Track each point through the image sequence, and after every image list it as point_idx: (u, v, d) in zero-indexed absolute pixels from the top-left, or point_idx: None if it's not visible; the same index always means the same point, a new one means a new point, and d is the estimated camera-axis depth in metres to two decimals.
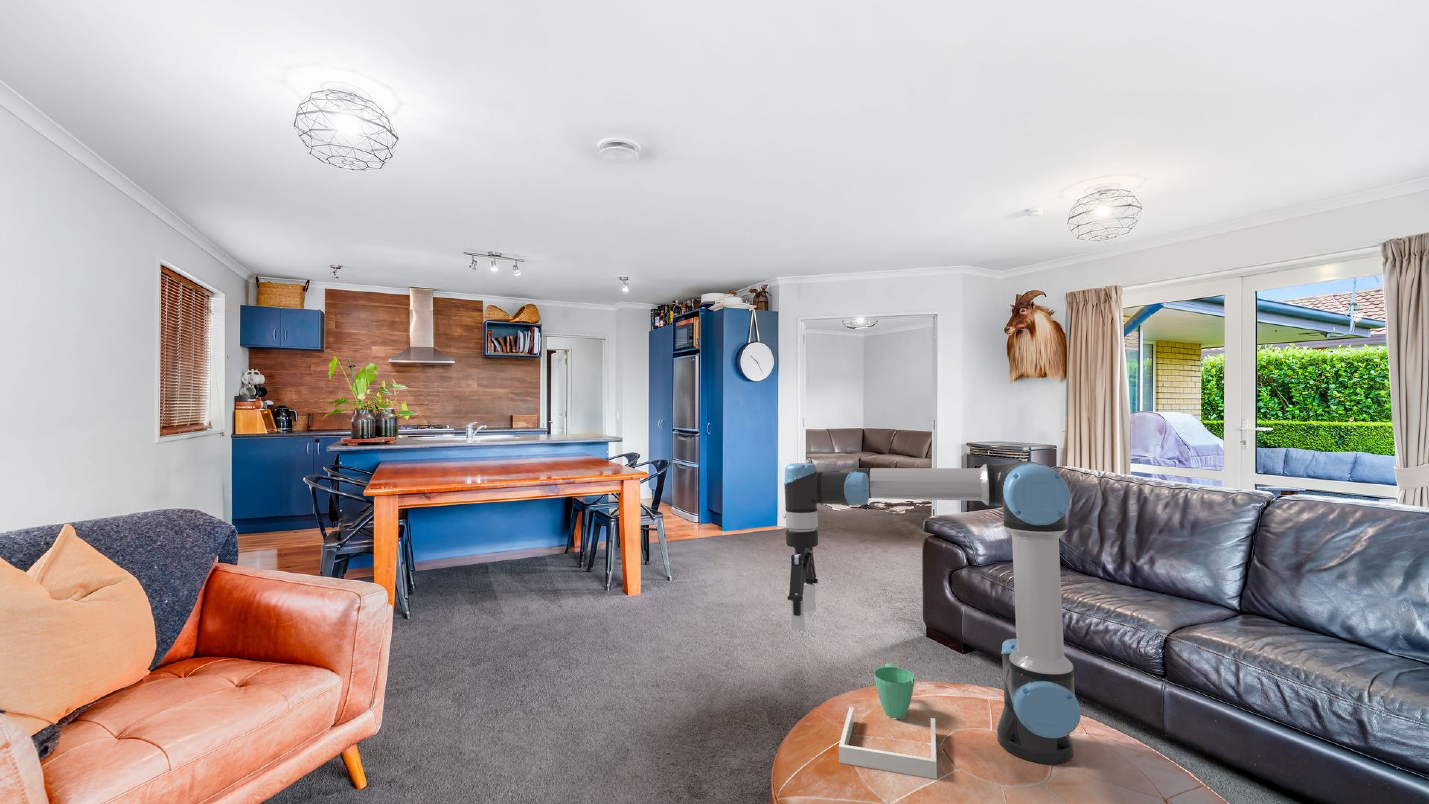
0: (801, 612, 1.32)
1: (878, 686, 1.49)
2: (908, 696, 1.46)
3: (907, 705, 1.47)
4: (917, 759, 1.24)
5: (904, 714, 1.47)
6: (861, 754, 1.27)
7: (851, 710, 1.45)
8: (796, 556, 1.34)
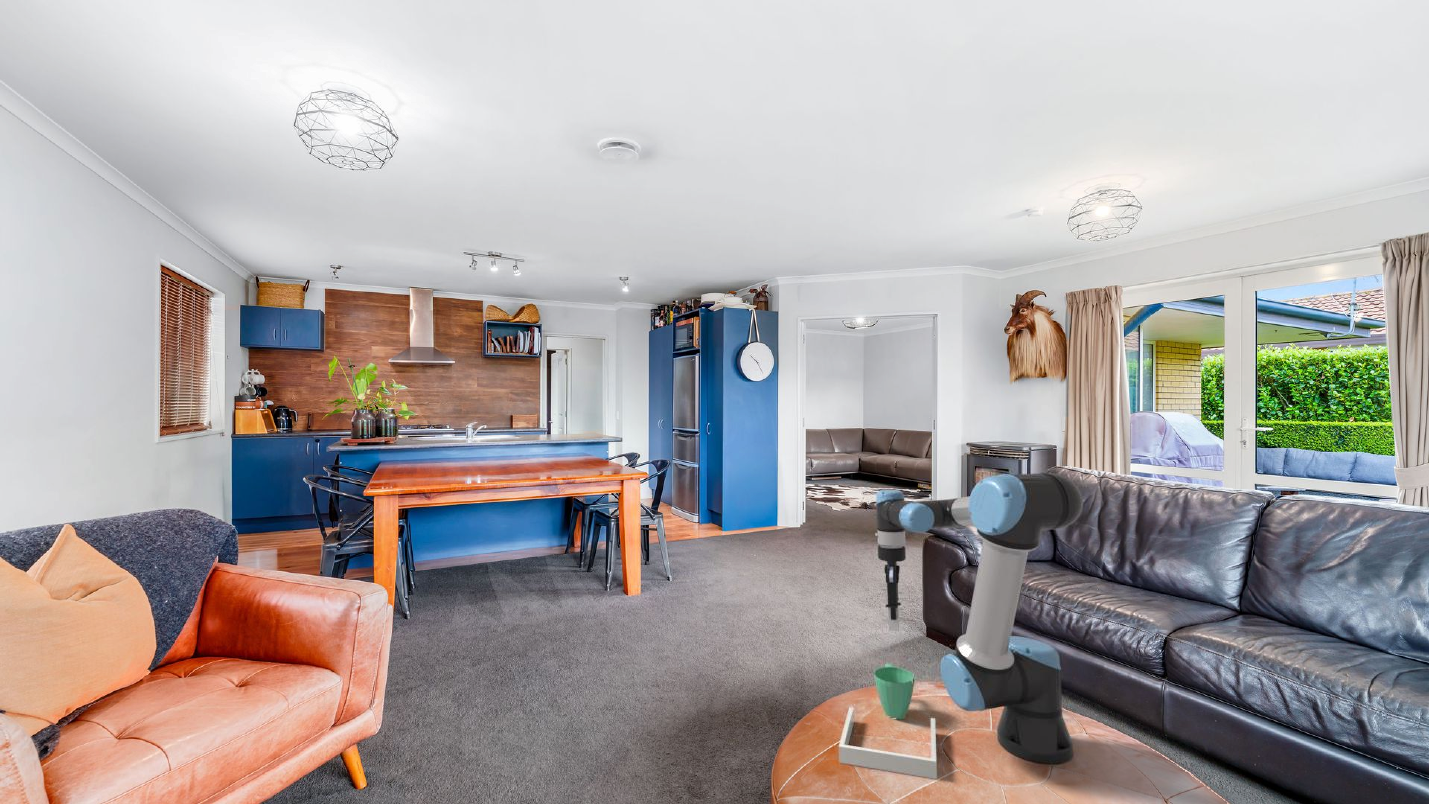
0: (896, 617, 1.65)
1: (878, 686, 1.49)
2: (908, 696, 1.46)
3: (907, 705, 1.47)
4: (917, 759, 1.24)
5: (904, 714, 1.47)
6: (861, 754, 1.27)
7: (851, 710, 1.45)
8: (891, 578, 1.61)
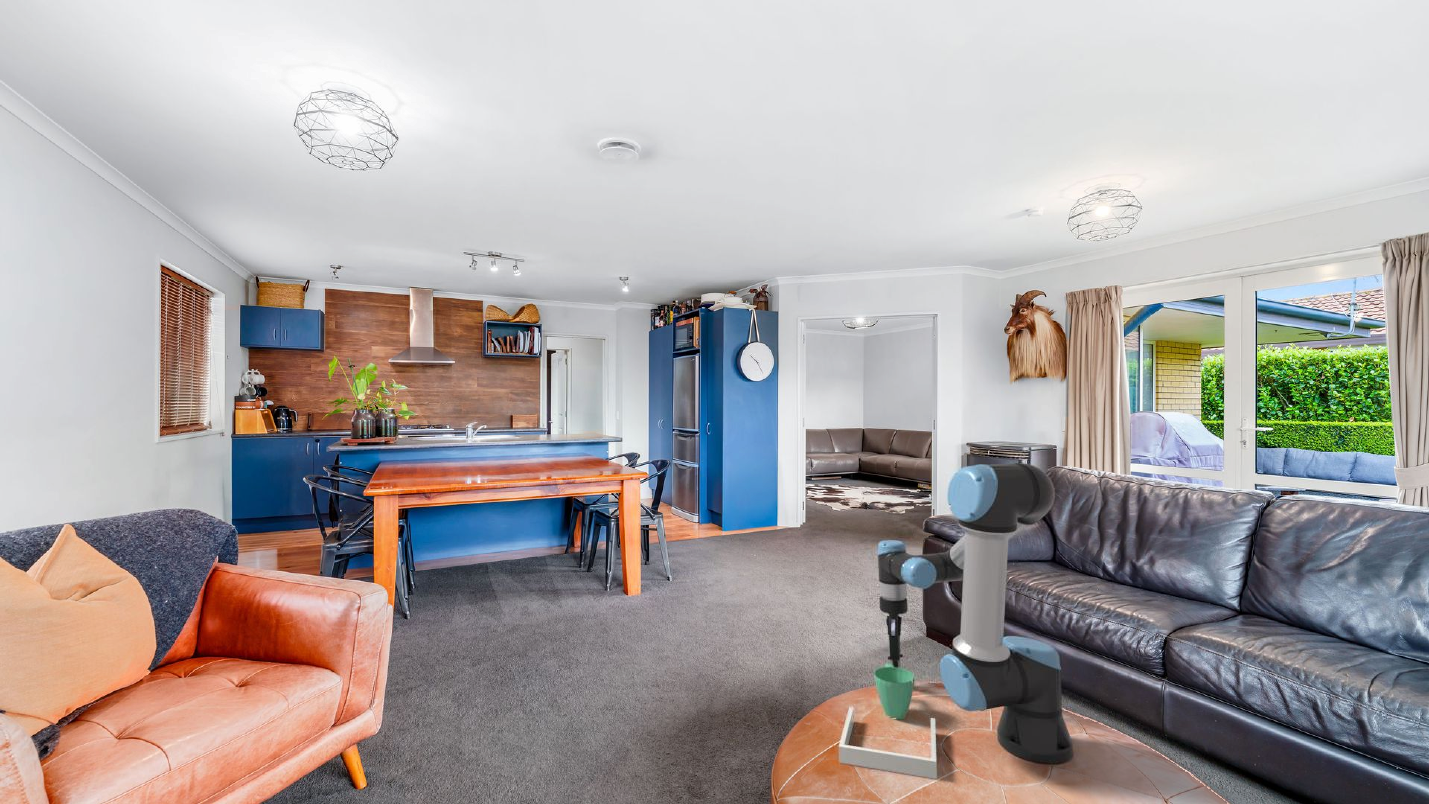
0: None
1: (878, 686, 1.49)
2: (908, 696, 1.46)
3: (907, 705, 1.47)
4: (917, 759, 1.24)
5: (904, 714, 1.47)
6: (861, 754, 1.27)
7: (851, 710, 1.45)
8: (893, 632, 1.60)
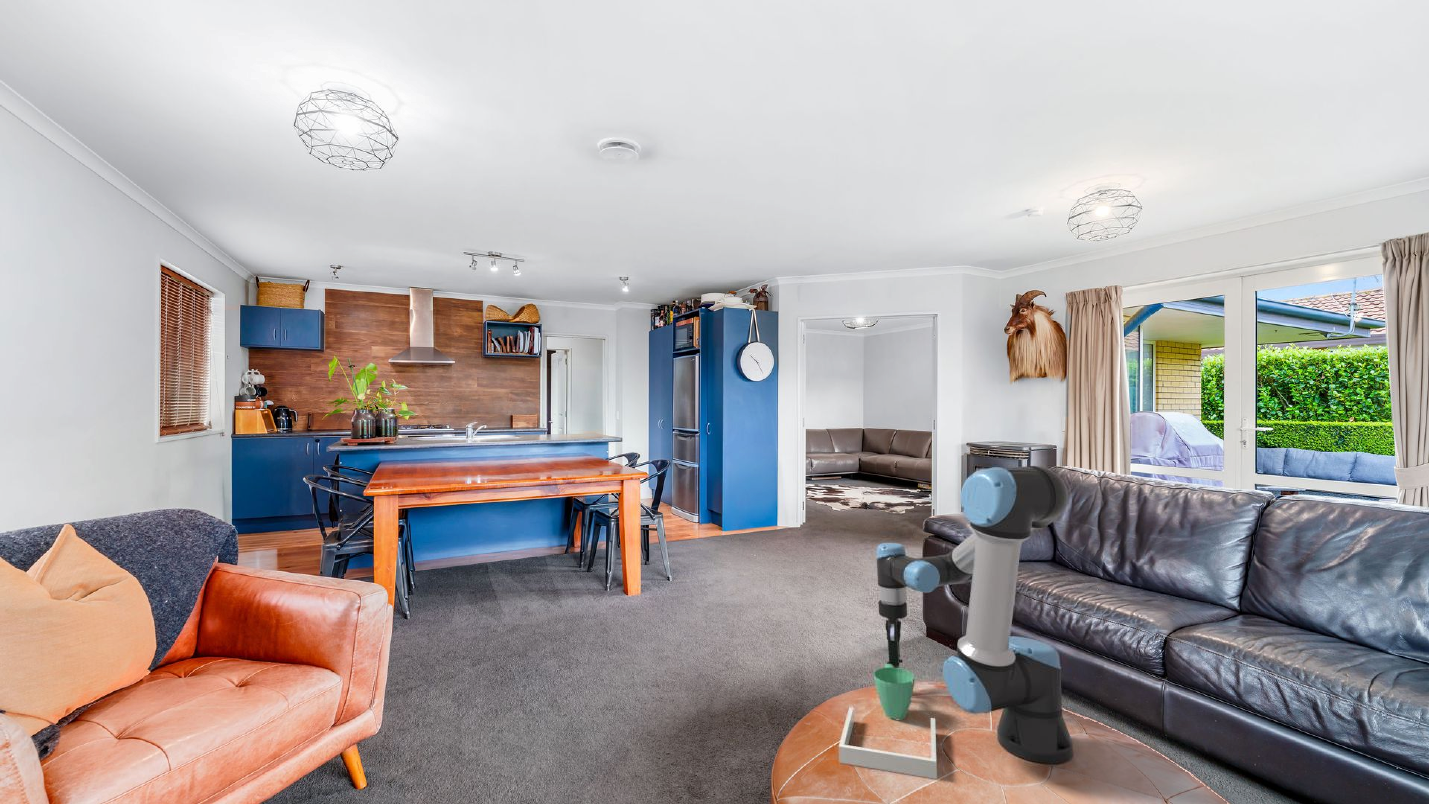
0: None
1: (878, 687, 1.48)
2: (908, 696, 1.46)
3: (907, 705, 1.47)
4: (917, 759, 1.24)
5: (904, 715, 1.47)
6: (861, 754, 1.27)
7: (851, 710, 1.45)
8: (892, 637, 1.56)
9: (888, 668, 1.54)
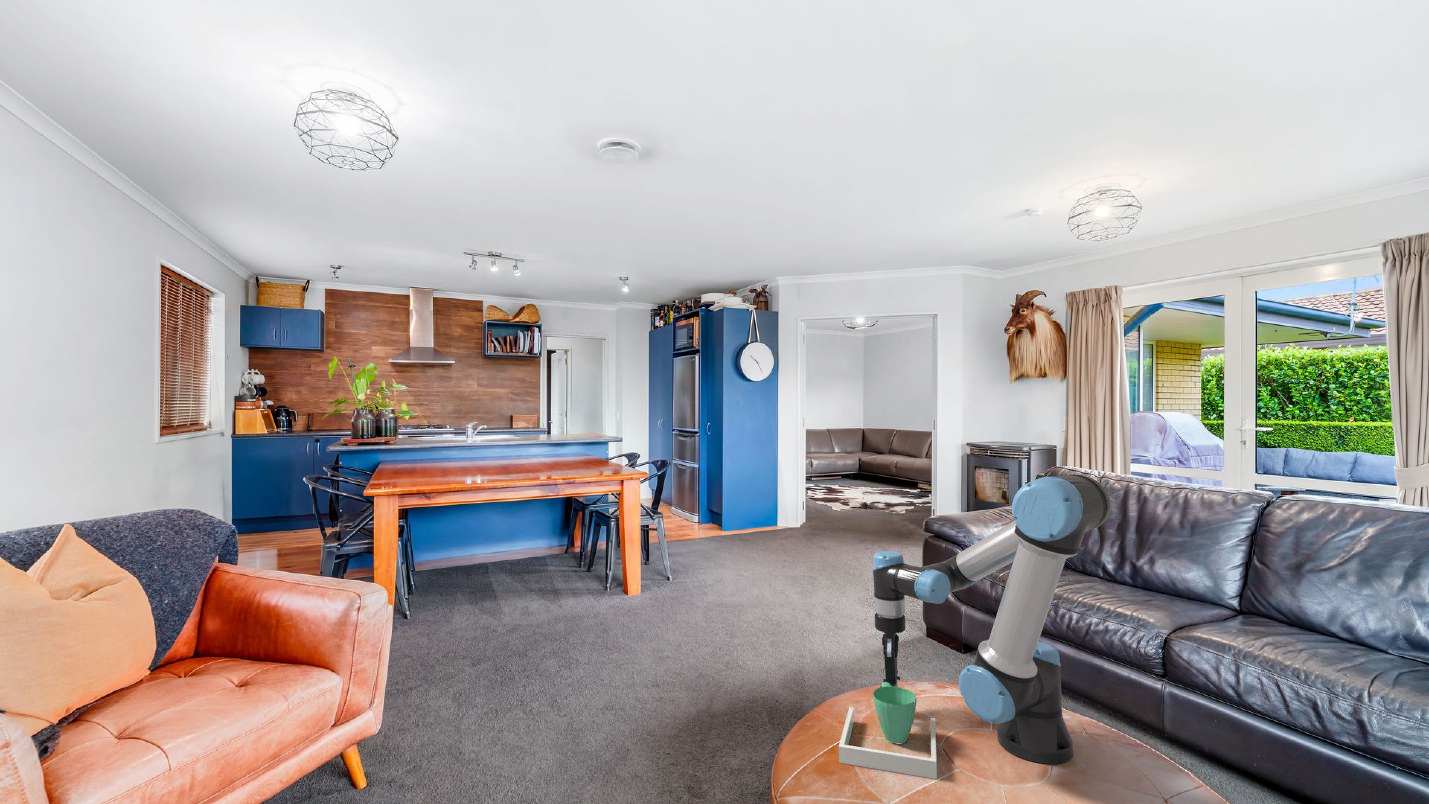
0: None
1: (878, 709, 1.37)
2: (911, 718, 1.35)
3: (909, 728, 1.36)
4: (917, 759, 1.24)
5: (906, 738, 1.36)
6: (861, 754, 1.27)
7: (851, 710, 1.45)
8: (889, 653, 1.45)
9: (886, 687, 1.43)
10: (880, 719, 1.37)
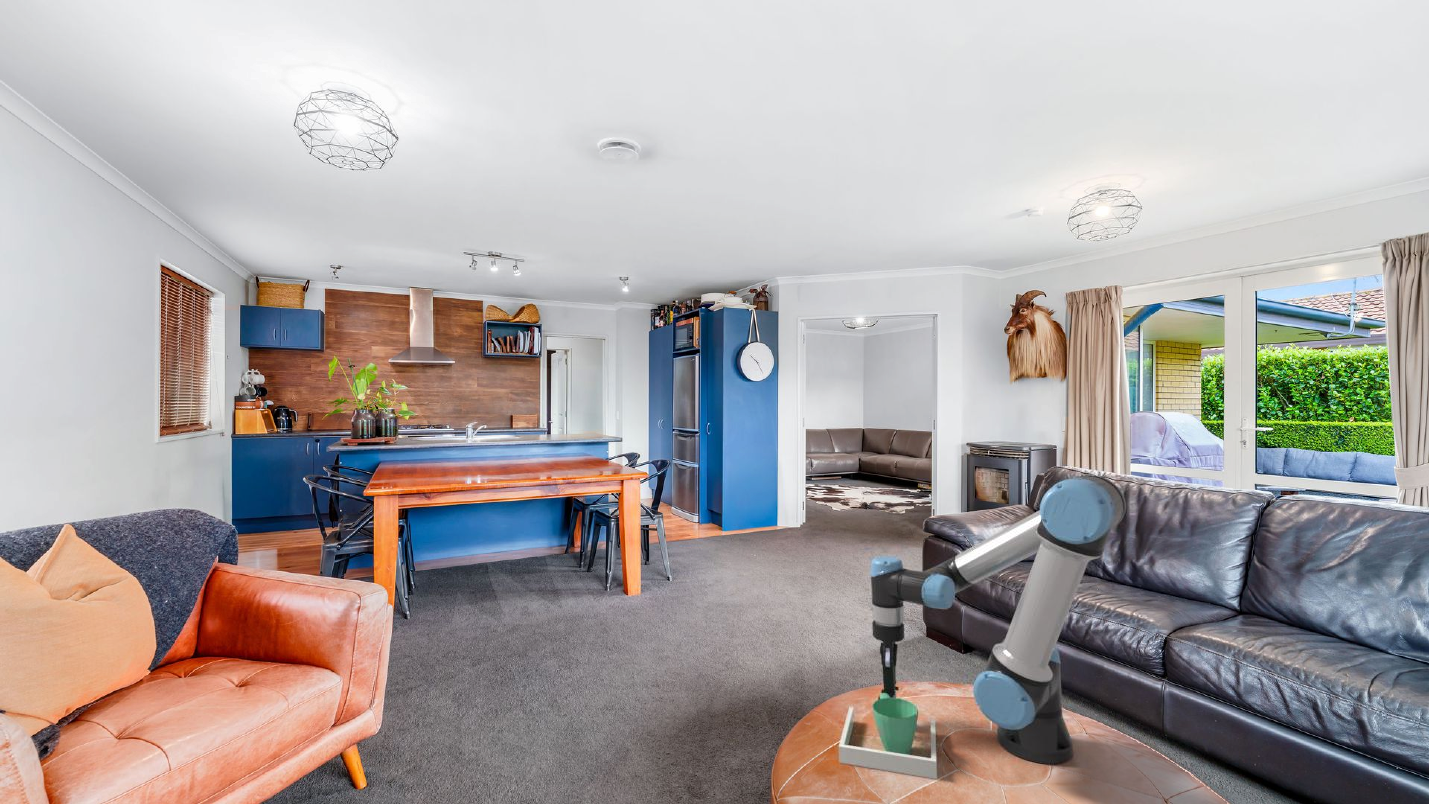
0: None
1: (879, 723, 1.31)
2: (913, 731, 1.29)
3: (912, 742, 1.30)
4: (917, 759, 1.24)
5: (908, 752, 1.30)
6: (861, 754, 1.27)
7: (851, 710, 1.45)
8: (887, 663, 1.39)
9: (885, 699, 1.37)
10: (881, 733, 1.31)
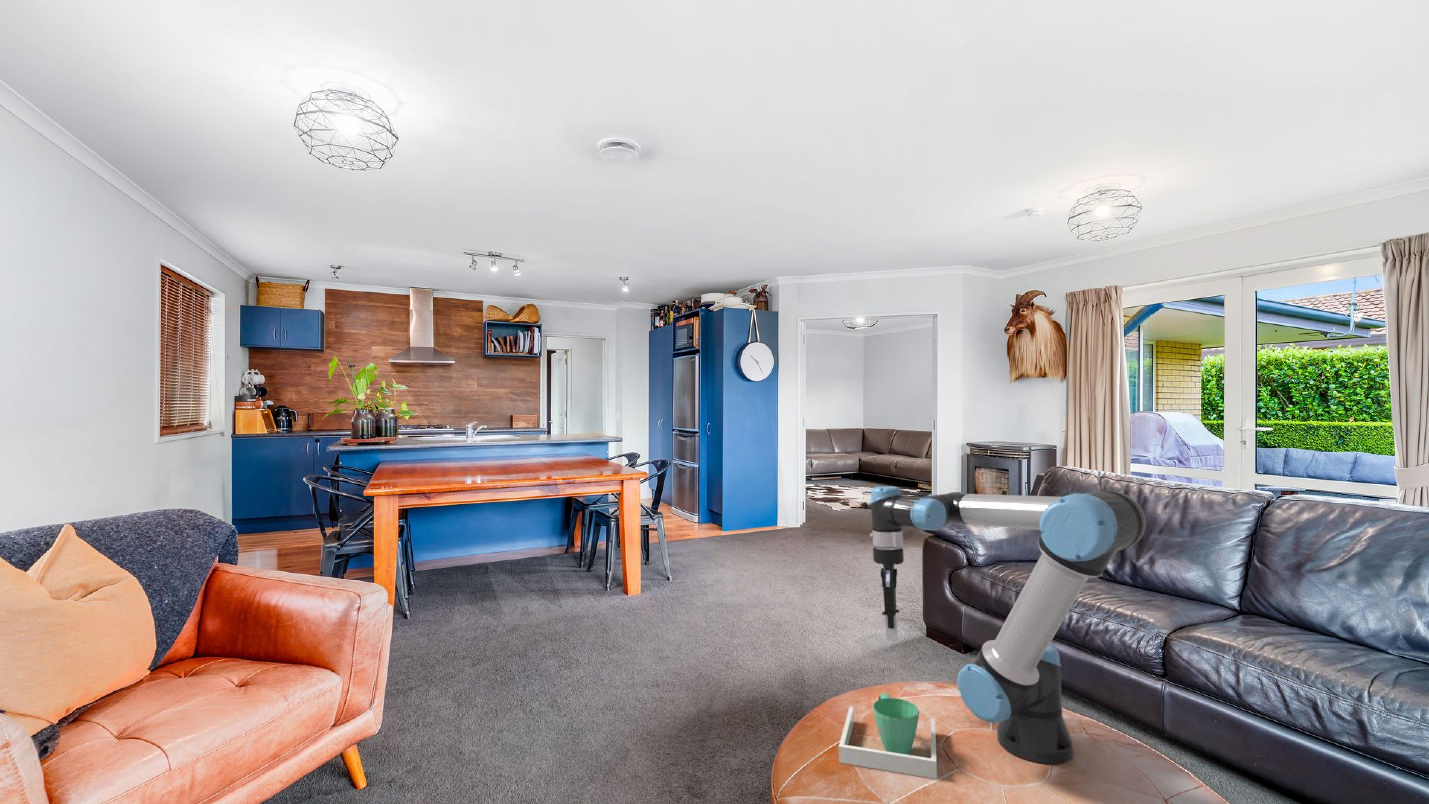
0: (894, 625, 1.51)
1: (880, 723, 1.30)
2: (913, 732, 1.29)
3: (912, 742, 1.30)
4: (917, 759, 1.24)
5: (908, 752, 1.30)
6: (861, 754, 1.27)
7: (851, 710, 1.45)
8: (887, 583, 1.46)
9: (886, 699, 1.37)
10: (881, 733, 1.31)
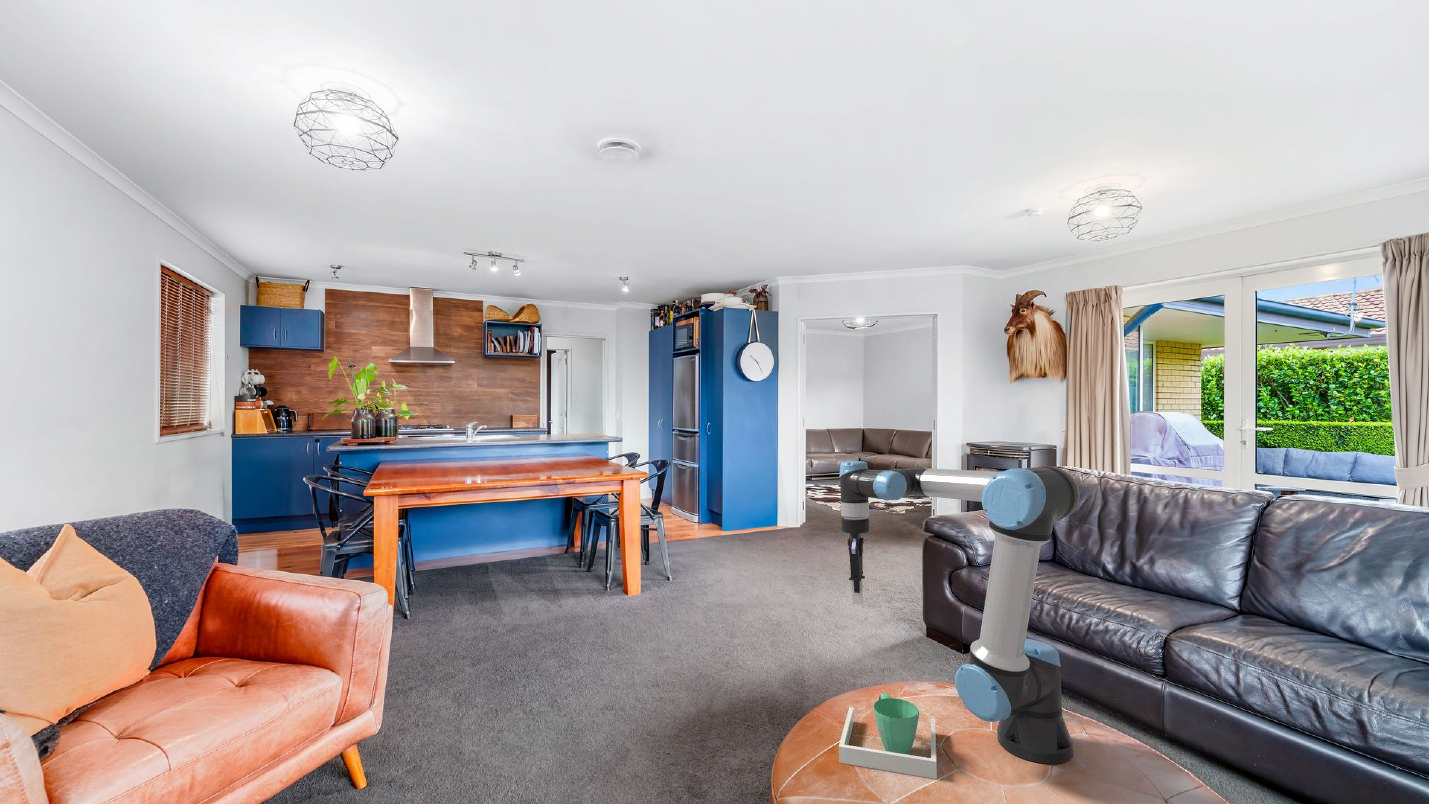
0: (860, 590, 1.62)
1: (880, 723, 1.30)
2: (913, 732, 1.29)
3: (912, 742, 1.30)
4: (917, 759, 1.24)
5: (908, 752, 1.30)
6: (861, 754, 1.27)
7: (851, 710, 1.45)
8: (853, 549, 1.57)
9: (886, 699, 1.37)
10: (881, 733, 1.31)
